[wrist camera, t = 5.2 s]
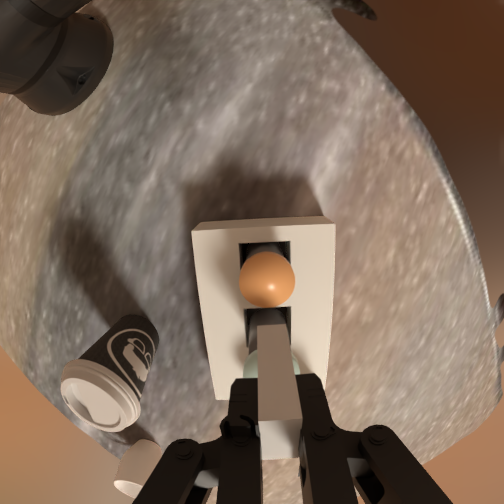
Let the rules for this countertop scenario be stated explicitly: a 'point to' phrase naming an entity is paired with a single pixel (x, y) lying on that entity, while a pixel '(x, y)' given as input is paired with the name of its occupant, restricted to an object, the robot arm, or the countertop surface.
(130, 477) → the mug
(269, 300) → the knob
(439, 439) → the countertop surface
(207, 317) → the panel
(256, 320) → the knob
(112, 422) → the coffee cup
